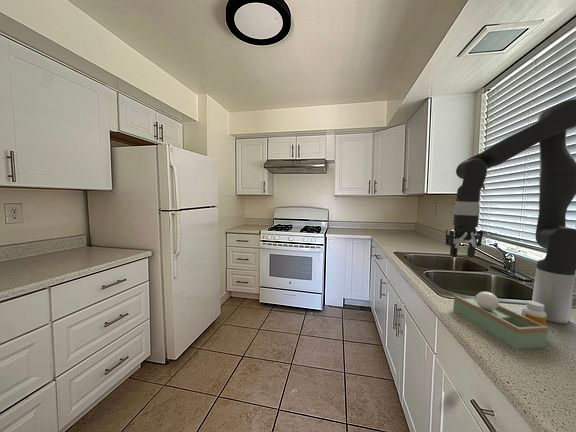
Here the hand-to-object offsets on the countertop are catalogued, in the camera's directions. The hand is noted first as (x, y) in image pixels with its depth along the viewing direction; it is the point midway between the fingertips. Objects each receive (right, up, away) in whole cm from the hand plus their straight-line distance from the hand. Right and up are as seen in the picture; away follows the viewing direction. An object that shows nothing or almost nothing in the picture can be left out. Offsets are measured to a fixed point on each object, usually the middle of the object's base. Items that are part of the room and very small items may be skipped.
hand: (461, 256), depth 91 cm
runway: (+1, -21, -12) cm, 24 cm away
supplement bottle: (+11, -22, -15) cm, 29 cm away
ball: (+1, -13, -10) cm, 17 cm away
